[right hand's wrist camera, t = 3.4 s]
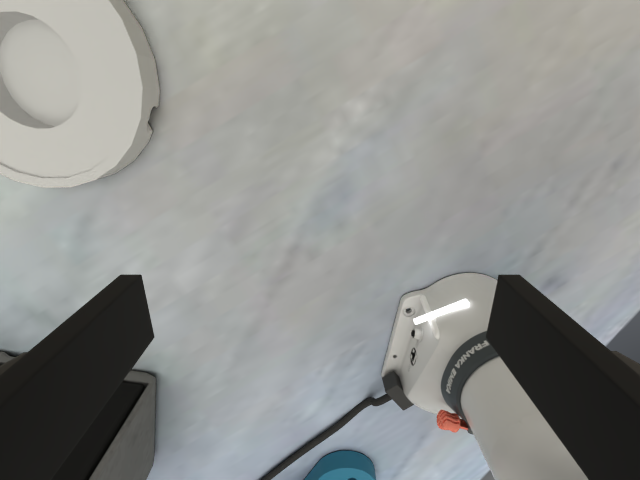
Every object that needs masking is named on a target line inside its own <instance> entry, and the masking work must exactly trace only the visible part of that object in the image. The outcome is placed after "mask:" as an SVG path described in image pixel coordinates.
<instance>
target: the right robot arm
mask: <svg viewBox="0 0 640 480" xmlns="http://www.w3.org/2000/svg"><path fill="white" fill-rule="evenodd" d="M153 338H154V333H153V328H152V323H151V319H150V314H149V309H148V304H147V299H146V295H145V290H144V285H143V280H142V275H120V276H119V277H117V278H116V279H115V280H114V281H113V282H111V283H110V284H109V285H108V286H107V287H105V288H104V289H103V290H102V291H101V292H99V293H98V294H97V295H96V296H95V297H93V298H92V299H91V300H90V301H89V302H87V303H86V304H85V305H84V306H83V307H81V308H80V309H79V310H78V311H77V312H75V313H74V314H73V315H72V316H71V317H69V318H68V319H67V320H66V321H65V322H63V323H62V324H61V325H60V326H59V327H58V328H56V329H55V330H54V331H53V332H52V333H50V334H49V335H48V336H47V337H46V338H44V339H43V340H42V341H41V342H40V343H38V344H37V345H36V346H35V347H34V348H32V349H31V350H30V351H29V352H24V353H22V354H20V355H18V356H17V357H15V358H13V359H11V360H9V361H8V362H6V363H4V364H2V365H1V366H0V480H52V478H53V477H54V475H55V474H56V473H57V471H58V470H59V468H60V467H61V466H62V464H63V463H64V462H65V460H66V459H67V457H68V456H69V455H70V453H71V452H72V451H73V449H74V448H75V446H76V445H77V444H78V442H79V441H80V439H81V438H82V437H83V435H84V434H85V433H86V431H87V430H88V428H89V427H90V426H91V424H92V423H93V421H94V420H95V419H96V417H97V416H98V415H99V413H100V412H101V410H102V409H103V408H104V406H105V405H106V403H107V402H108V401H109V399H110V398H111V397H112V395H113V394H114V392H115V391H116V390H117V388H118V387H119V385H120V384H121V383H122V381H123V380H124V379H125V377H126V376H127V374H128V373H129V372H130V370H131V369H132V367H133V366H134V365H135V363H136V362H137V361H138V359H139V358H140V356H141V355H142V354H143V352H144V351H145V350H146V348H147V347H148V345H149V344H150V343H151V341H152V340H153ZM486 338H487V340H488V341H489V343H490V344H491V345H492V347H493V348H494V350H495V351H496V352H497V354H498V355H499V356H500V358H501V359H502V361H503V362H504V363H505V365H506V366H507V367H508V369H509V370H510V372H511V373H512V374H513V376H514V377H515V379H516V380H517V381H518V383H519V384H520V385H521V387H522V388H523V390H524V391H525V392H526V394H527V395H528V397H529V398H530V399H531V401H532V402H533V403H534V405H535V406H536V408H537V409H538V410H539V412H540V413H541V415H542V416H543V417H544V419H545V420H546V421H547V423H548V424H549V426H550V427H551V428H552V430H553V431H554V433H555V434H556V435H557V437H558V438H559V439H560V441H561V442H562V444H563V445H564V446H565V448H566V449H567V451H568V452H569V453H570V455H571V456H572V457H573V459H574V460H575V462H576V463H577V464H578V466H579V467H580V468H581V470H582V471H583V473H584V474H585V475H586V477H587V478H588V480H640V364H639V363H637V362H635V361H633V360H631V359H630V358H628V357H626V356H624V355H622V354H621V353H619V352H617V351H610V350H609V349H608V348H606V347H605V346H604V345H603V344H602V343H600V342H599V341H598V340H597V339H596V338H594V337H593V336H592V335H591V334H590V333H588V332H587V331H586V330H585V329H584V328H582V327H581V326H580V325H579V324H578V323H577V322H575V321H574V320H573V319H572V318H571V317H569V316H568V315H567V314H566V313H565V312H563V311H562V310H561V309H560V308H559V307H557V306H556V305H555V304H554V303H553V302H551V301H550V300H549V299H548V298H547V297H545V296H544V295H543V294H542V293H541V292H539V291H538V290H537V289H536V288H535V287H533V286H532V285H531V284H530V283H529V282H527V281H526V280H525V279H524V278H523V277H521V276H520V275H498V280H497V285H496V290H495V295H494V299H493V304H492V309H491V314H490V319H489V323H488V328H487V333H486Z"/></svg>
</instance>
